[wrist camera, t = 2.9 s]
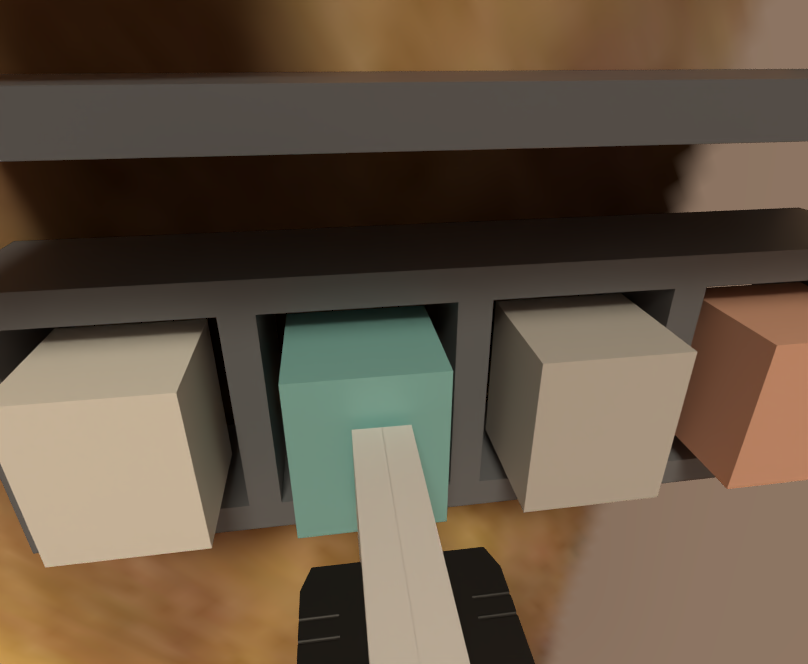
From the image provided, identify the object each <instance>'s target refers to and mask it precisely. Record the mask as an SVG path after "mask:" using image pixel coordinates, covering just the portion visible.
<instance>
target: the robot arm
mask: <svg viewBox="0 0 808 664" xmlns="http://www.w3.org/2000/svg"><path fill="white" fill-rule="evenodd" d="M352 446H353V463H354V480H355V498H356V514H357V528H358V541H359V555H360V562H358V563H349V564H340V565H331V566H322V567H313V568H311V570H310V572H309V574H308V576H307V578H306V580H305V582H304V584H303V586H302V589H301V591H300V605H299V628H298V650H297V664H535V663H534V660H533V657H532V654H531V651H530V649H529V646H528V643H527V640H526V637H525V634H524V632H523V629H522V626H521V623H520V620H519V617H518V616H517V614H516V609H515V606H514V603H513V600H512V598H511V595H510V594H509V589H508V586H507V583H506V581H505V578H504V575H503V572H502V569H501V566H500V565H499V564H498V563H497V562H496V561H495V560H494V558H493V557H492V556H491V555H490V554H489V553H488V552H487V550H486V549H485V548H484V547H478V548H469V549H460V550H452V551H442V547H441V543H440V539H439V535H438V531H437V527H436V523H435V518H434V514H433V510H432V506H431V502H430V498H429V494H428V490H427V486H426V482H425V478H424V474H423V469H422V465H421V461H420V457H419V453H418V449H417V445H416V441H415V437H414V433H413V429H412V425H403V426H391V427H379V428H367V429H355V430H352Z"/></svg>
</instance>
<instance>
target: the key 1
mask: <svg viewBox="0 0 808 664" xmlns="http://www.w3.org/2000/svg"><path fill="white" fill-rule="evenodd" d="M231 456H232V450H231V445H230V440H229V434H228V429H227V423H226V418H225V413H224V407H223V402H222V396H221V391H220V386H219V380H218V375H217V369H216V364H215V358H214V353H213V348H212V342H211V337H210V331H209V326H208V321H207V319H200V320H184V321H168V322H152V323H136V324H120V325H104V326H88V327H72V328H56V329H54V330H53V331H52V332H51V333H50V334H49V335H48V336H47V337H46V338H45V339H44V340H43V341H42V342H41V343H40V344H39V345H38V346H37V347H36V348H35V349H34V350H33V351H32V352H31V353H30V354H29V355H28V356H27V357H26V358H25V359H24V360H23V361H22V362H21V363H20V364H19V366H18V367H17V368H16V369H15V370H14V371H13V372H12V373H11V374H10V375H9V376H8V377H7V378H6V379H5V380H4V381H3V382H2V383H1V384H0V464H1V466H2V468H3V471H4V473H5V475H6V478H7V480H8V482H9V485H10V487H11V489H12V492H13V494H14V496H15V498H16V501H17V503H18V505H19V508H20V510H21V512H22V515H23V517H24V519H25V522H26V524H27V526H28V529H29V531H30V533H31V535H32V538H33V540H34V542H35V545H36V547H37V549H38V552H39V554H40V556H41V559H42V561H43V563H44V565H45V567H53V566H62V565H70V564H79V563H88V562H96V561H105V560H114V559H122V558H131V557H140V556H149V555H157V554H166V553H175V552H183V551H192V550H201V549H209V548H212V545H213V540H214V535H215V531H216V526H217V521H218V517H219V512H220V507H221V503H222V498H223V493H224V489H225V484H226V479H227V475H228V470H229V465H230V461H231Z"/></svg>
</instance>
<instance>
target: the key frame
mask: <svg viewBox="0 0 808 664" xmlns="http://www.w3.org/2000/svg"><path fill="white" fill-rule="evenodd" d="M792 282H800V283H803V284H805V285H807V286H808V210H805V209H801V208H782V209H781V208H780V209H758V210H735V211H734V210H733V211H712V212H711V211H710V212H686V213H663V214H640V215H616V216H593V217H570V218H546V219H523V220H500V221H476V222H453V223H430V224H406V225H383V226H359V227H336V228H313V229H289V230H266V231H243V232H219V233H196V234H173V235H149V236H126V237H102V238H79V239H56V240H32V241H14V242H12V243H10V244H9V245H7V246H5V247H4V248H2V249H0V384H1V383H2V382H3V381H4V380H5V379H6V378H7V377H8V376H9V375H10V374H11V373H12V372H13V371H14V370H15V369H16V368H17V367H18V366H19V364H20V363H21V362H22V361H23V360H24V359H25V358H26V357H27V356H28V355H29V354H30V353H31V352H32V351H33V350H34V349H35V348H36V347H37V346H38V345H39V344H40V343H41V342H42V341H43V340H44V339H45V338H46V337H47V336H48V335H49V334H50V333H51V332H52V331H53V330H54V329H56V328H72V327H75V326H84V325H100V324H116V323H132V322H148V321H164V320H181V319H197V318H213V317H216V319H217V324H218V330H219V336H220V341H221V347H222V353H223V358H224V364H225V370H226V375H227V381H228V387H229V392H230V398H231V404H232V409H233V415H234V421H235V424H232V425H227V429H228V434H229V440H230V445H231V450H232V456H231V461H230V465H229V470H228V475H227V479H226V484H225V489H224V493H223V498H222V503H221V507H220V512H219V517H218V521H217V526H216V531H215V533H221V532H230V531H239V530H248V529H257V528H266V527H275V526H284V525H293V524H296V520H295V512H294V504H293V496H292V488H291V480H290V472H289V465H288V457H287V449H286V441H285V433H284V425H283V417H282V409H281V402H280V394H279V386H278V384H279V375H280V366H281V358H280V349H279V341H278V333H277V325H276V317H275V314H277V313H293V312H309V311H325V310H341V309H357V308H373V307H390V306H406V305H422V304H428V311H427V313H428V315H429V317H430V320H431V322H432V324H433V326H434V329H435V331H436V333H437V335H438V338H439V340H440V342H441V345H442V347H443V349H444V351H445V354H446V356H447V358H448V360H449V363H450V365H451V367H452V369H453V388H452V410H451V433H450V456H449V479H448V501H447V507H454V506H463V505H472V504H481V503H490V502H499V501H508V500H517V497H516V494H515V492H514V490H513V488H512V486H511V484H510V481H509V479H508V477H507V475H506V473H505V470H504V468H503V466H502V464H501V462H500V460H499V457H498V455H497V453H496V451H495V449H494V447H493V444H492V442H491V440H490V438H489V436H488V434H487V431H486V419H487V406H488V402H486V390H487V377H488V364H489V351H490V338H491V325H492V312H493V300H502V299H518V298H534V297H550V296H566V295H583V294H594V295H600V294H616V293H621V294H622V295H624V296H625V297H626V298H628V299H629V300H630V301H632V302H633V303H634V304H635V305H637V306H638V307H639V308H641V309H642V310H643V311H645V312H646V313H647V314H649V315H650V316H651V317H653V318H654V319H655V320H656V321H658V322H659V323H660V324H662V325H663V326H664V327H666V328H667V329H668V330H670V331H671V332H672V333H674V334H675V335H676V336H677V337H679V338H680V339H681V340H683V341H684V342H685V343H687V344H688V345H689V346H691V344H692V340H693V336H694V333H695V329H696V325H697V321H698V318H699V314H700V310H701V306H702V303H703V299H704V295H705V291H706V288H707V287H711V286H727V285H743V284H752V285H760V284H776V283H792ZM714 477H715V476H714V475H713V474H712V473H711V472H710V471H709V470H708V469H707V468H706V467H705V465H704V464H703V463H702V462H701V461H700V460H699V459H698V458H697V457H696V456H695V455H694V454H693V453H692V452H691V451H690V450H689V449H688V448H687V447H686V446H685V445H684V444H683V443H682V442H681V440H680V439H679V438H678V437H677V436H676V435H674V439H673V443H672V446H671V450H670V454H669V457H668V461H667V464H666V468H665V472H664V475H663V479H662V483H669V482H678V481H686V480H696V479H705V478H714ZM0 479H1V481H2V483H3V486H4V488H5V490H6V492H7V495H8V497H9V499H10V502H11V504H12V506H13V508H14V511H15V513H16V515H17V517H18V520H19V522H20V524H21V527H22V529H23V531H24V533H25V536H26V538H27V540H28V542H29V545H30V547H31V549H32V552H33V553H39V552H38V549H37V547H36V545H35V542H34V540H33V538H32V535H31V533H30V531H29V529H28V526H27V524H26V522H25V519H24V517H23V515H22V512H21V510H20V508H19V505H18V503H17V501H16V498H15V496H14V494H13V492H12V489H11V487H10V485H9V482H8V480H7V478H6V475H5V473H4V471H3V468H2V466H1V464H0Z"/></svg>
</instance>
